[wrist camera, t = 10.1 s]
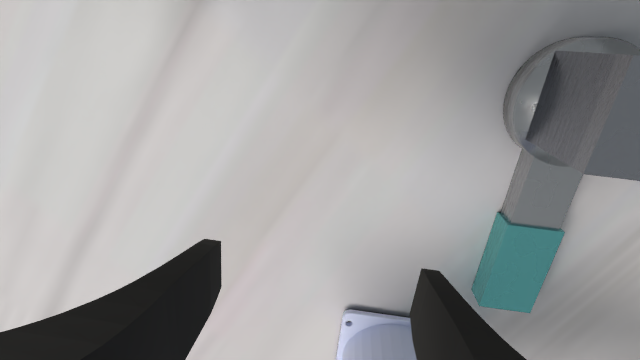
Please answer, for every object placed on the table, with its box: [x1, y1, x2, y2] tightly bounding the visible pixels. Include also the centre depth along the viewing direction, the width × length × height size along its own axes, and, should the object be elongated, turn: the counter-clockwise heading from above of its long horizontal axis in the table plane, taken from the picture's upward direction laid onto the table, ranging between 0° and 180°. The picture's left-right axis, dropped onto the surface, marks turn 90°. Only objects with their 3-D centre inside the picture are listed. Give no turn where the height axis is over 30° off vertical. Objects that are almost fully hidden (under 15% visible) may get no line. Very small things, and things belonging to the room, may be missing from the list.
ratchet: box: [472, 37, 640, 313], centre depth 19 cm, size 16×6×4 cm, turn 174°
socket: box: [525, 50, 640, 181], centre depth 15 cm, size 4×4×5 cm
